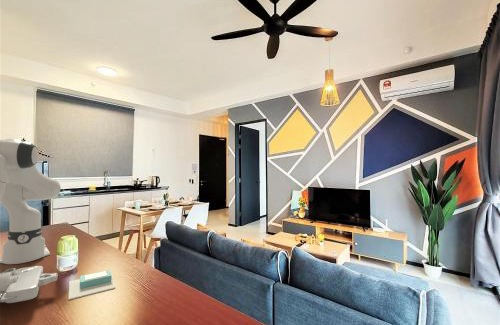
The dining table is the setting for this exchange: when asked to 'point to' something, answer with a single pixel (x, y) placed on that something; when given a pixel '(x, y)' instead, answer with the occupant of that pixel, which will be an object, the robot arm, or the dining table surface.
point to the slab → (95, 279)
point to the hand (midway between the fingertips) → (57, 276)
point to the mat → (87, 289)
